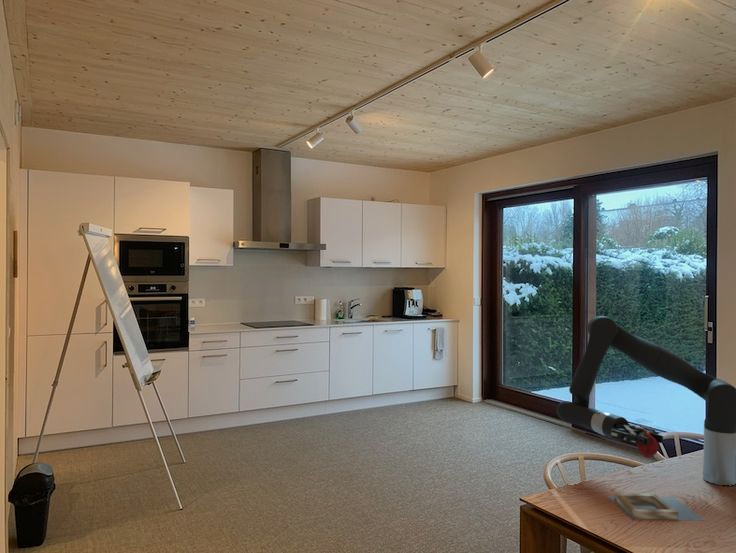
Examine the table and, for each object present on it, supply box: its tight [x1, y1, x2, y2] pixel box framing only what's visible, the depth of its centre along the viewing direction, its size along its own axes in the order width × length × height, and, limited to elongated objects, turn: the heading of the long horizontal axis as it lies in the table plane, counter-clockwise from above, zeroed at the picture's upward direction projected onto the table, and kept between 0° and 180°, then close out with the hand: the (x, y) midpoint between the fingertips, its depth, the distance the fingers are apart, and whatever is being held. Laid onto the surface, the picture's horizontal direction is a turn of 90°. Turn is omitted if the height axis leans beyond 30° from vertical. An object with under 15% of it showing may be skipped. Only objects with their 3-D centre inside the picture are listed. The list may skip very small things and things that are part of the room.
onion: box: [636, 432, 659, 459], centre depth 165 cm, size 6×6×8 cm
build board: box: [607, 495, 705, 522], centre depth 156 cm, size 20×15×2 cm
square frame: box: [614, 492, 678, 520], centre depth 155 cm, size 12×12×2 cm
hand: (655, 440), depth 163 cm, fingers closed on onion, 5 cm apart
